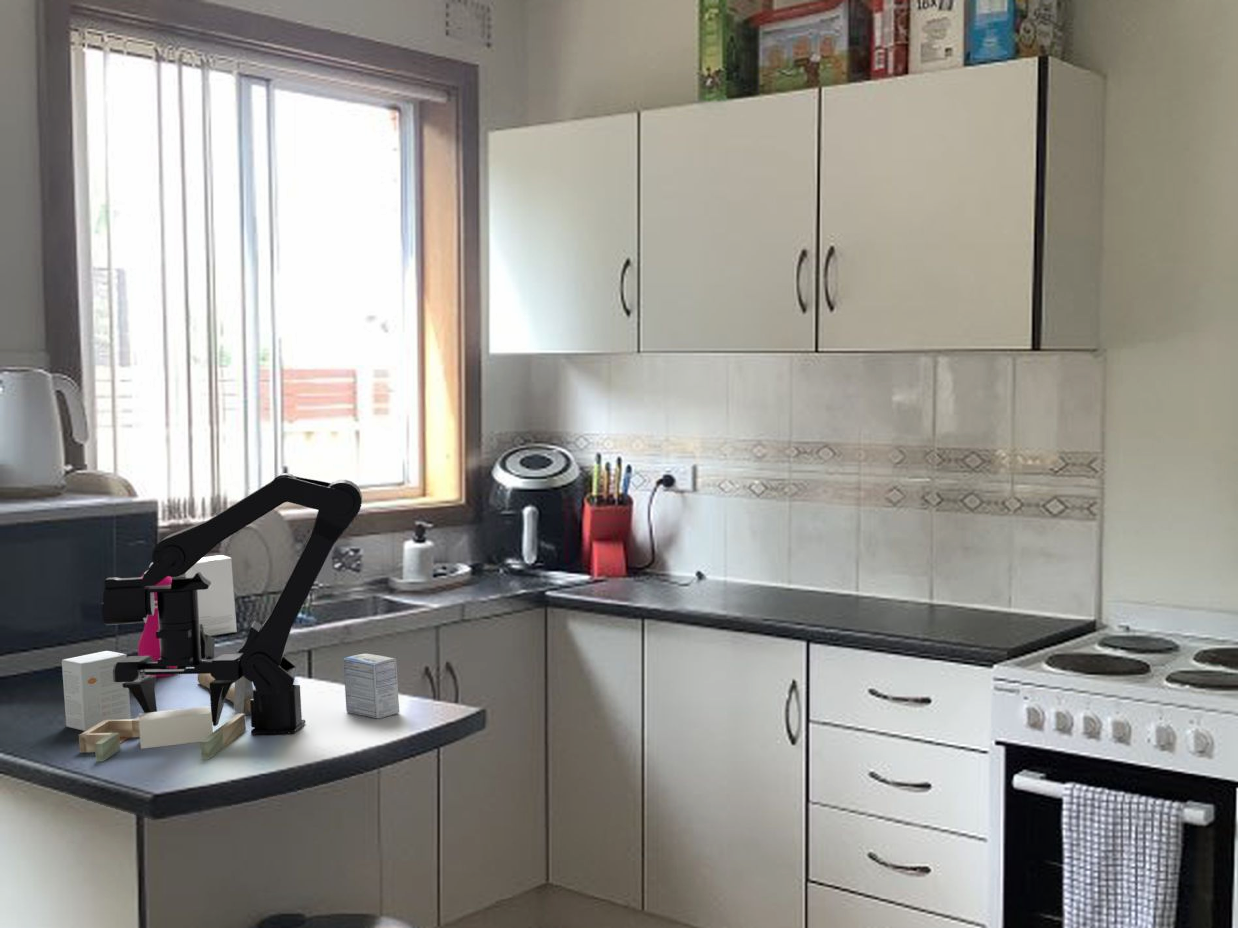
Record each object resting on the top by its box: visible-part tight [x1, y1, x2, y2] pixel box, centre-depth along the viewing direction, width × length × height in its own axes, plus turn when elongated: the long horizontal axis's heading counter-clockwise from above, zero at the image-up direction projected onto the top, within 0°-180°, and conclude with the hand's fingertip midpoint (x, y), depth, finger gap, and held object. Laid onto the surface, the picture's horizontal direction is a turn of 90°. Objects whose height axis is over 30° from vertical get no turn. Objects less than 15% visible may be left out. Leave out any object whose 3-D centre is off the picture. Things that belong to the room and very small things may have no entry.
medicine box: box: [343, 653, 400, 720], centre depth 228 cm, size 8×4×9 cm, turn 47°
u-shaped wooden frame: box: [78, 713, 247, 762], centre depth 213 cm, size 20×16×2 cm
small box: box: [61, 650, 132, 732], centre depth 228 cm, size 8×6×10 cm
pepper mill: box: [137, 562, 177, 678], centre depth 264 cm, size 7×7×20 cm
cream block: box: [138, 705, 214, 750], centre depth 216 cm, size 10×5×4 cm, turn 109°
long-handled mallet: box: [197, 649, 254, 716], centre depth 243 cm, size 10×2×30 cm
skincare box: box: [184, 554, 238, 637], centre depth 303 cm, size 8×7×16 cm
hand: (185, 725), depth 218 cm, fingers open, 9 cm apart
